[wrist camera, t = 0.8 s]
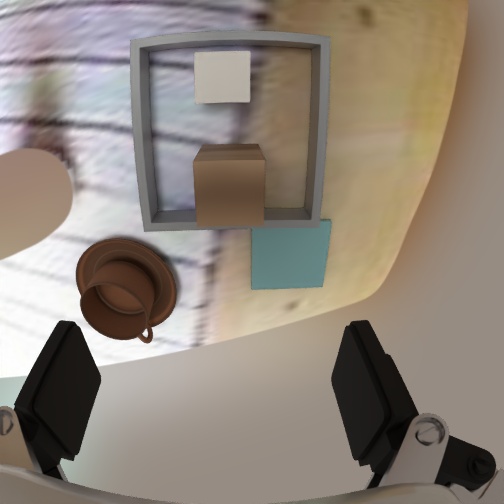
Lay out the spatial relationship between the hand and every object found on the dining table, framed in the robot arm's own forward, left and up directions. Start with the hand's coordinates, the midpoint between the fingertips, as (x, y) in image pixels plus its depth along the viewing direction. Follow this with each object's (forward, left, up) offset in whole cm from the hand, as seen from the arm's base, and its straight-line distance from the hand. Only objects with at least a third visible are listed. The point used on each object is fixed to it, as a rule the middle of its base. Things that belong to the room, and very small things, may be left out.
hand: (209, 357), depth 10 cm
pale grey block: (-9, 0, -21) cm, 23 cm away
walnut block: (-1, +1, -21) cm, 21 cm away
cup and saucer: (+11, -11, -21) cm, 27 cm away
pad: (+8, +7, -21) cm, 23 cm away
